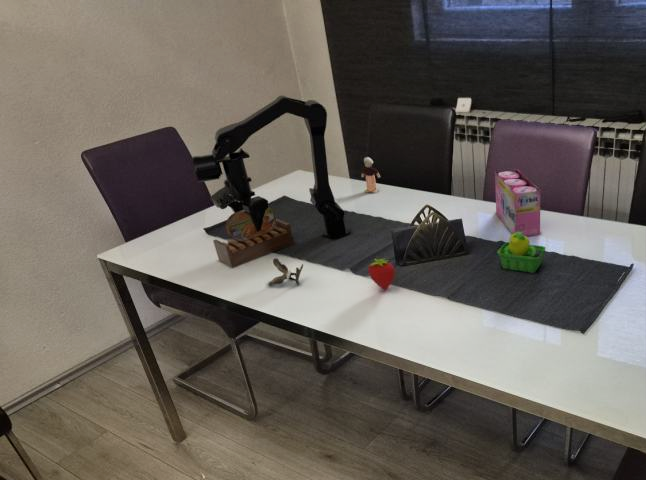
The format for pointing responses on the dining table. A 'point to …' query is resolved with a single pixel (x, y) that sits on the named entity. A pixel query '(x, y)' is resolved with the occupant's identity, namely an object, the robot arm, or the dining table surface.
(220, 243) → the rack
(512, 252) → the fruit basket
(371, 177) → the grandmother figurine
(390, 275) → the strawberry
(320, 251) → the dining table surface
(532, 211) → the gum box
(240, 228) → the tin
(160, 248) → the dining table surface
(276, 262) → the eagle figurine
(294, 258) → the dining table surface
